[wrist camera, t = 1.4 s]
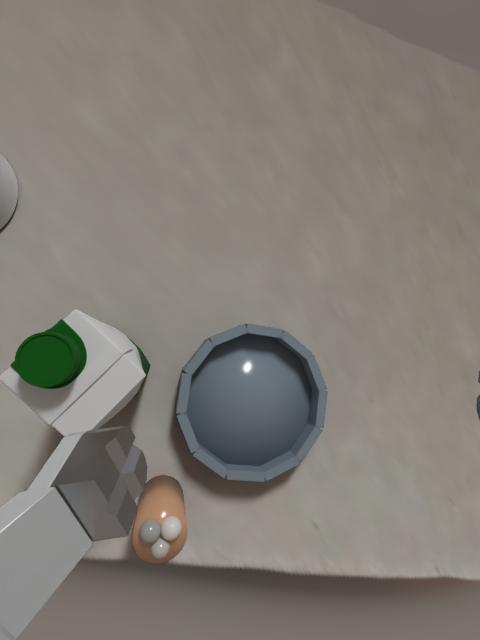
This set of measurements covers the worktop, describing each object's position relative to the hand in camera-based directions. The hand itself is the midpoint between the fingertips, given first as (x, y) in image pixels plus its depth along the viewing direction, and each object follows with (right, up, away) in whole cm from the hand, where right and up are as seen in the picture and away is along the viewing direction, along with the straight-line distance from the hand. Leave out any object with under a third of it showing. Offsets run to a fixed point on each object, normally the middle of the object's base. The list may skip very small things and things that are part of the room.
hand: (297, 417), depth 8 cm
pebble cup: (-12, -21, +36) cm, 43 cm away
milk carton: (-18, -4, +36) cm, 40 cm away
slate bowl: (0, -9, +39) cm, 40 cm away
